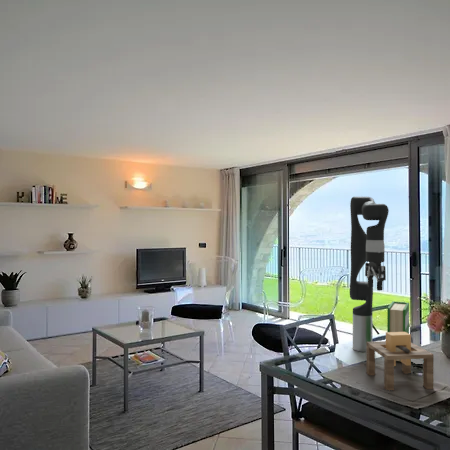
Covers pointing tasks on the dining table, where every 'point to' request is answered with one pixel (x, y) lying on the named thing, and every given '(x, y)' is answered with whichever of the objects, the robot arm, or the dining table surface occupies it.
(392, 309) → the hardback book
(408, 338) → the wooden arch block
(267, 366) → the dining table surface
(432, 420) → the dining table surface
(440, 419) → the dining table surface
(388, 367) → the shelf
